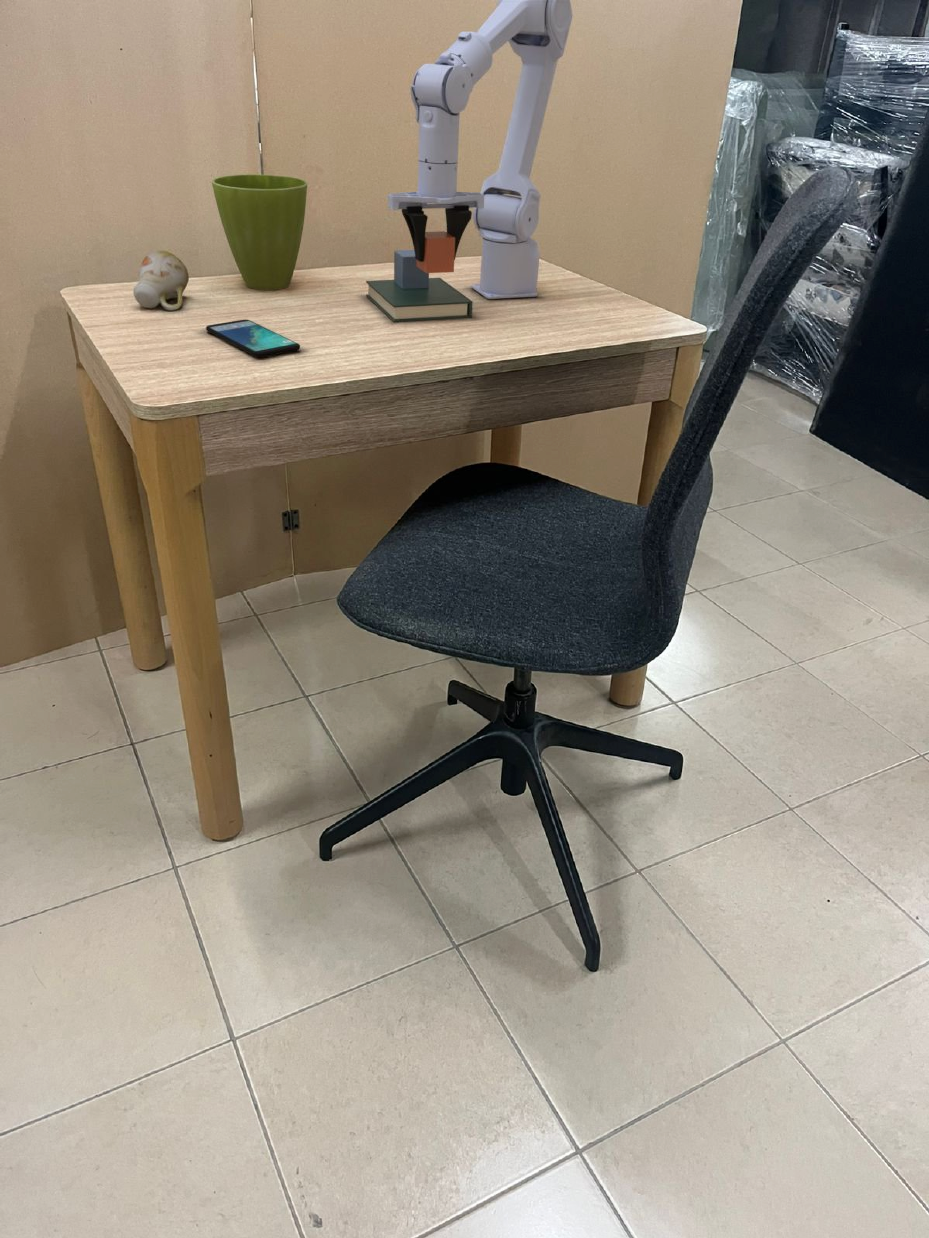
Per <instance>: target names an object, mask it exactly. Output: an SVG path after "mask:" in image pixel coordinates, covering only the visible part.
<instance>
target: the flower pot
mask: <svg viewBox="0 0 929 1238" xmlns="http://www.w3.org/2000/svg"><path fill="white" fill-rule="evenodd" d="M211 185H212V190H213V193H214V199H215V202H216V207H217V210H218V215H219V217H220V222H221V225H222V227H223V231H224V234H225V237H226V241H227V243H228V246H229V248H230V251H231V255H232V256H233V259H234V262H235V264H236V266H237V268H238V272H239V273H240V275H241V278H242V281H243V282H244V285H245V286H246V287H248V288H250V289H253V290H258V291H259V290H260V291H276V290H280V289H285V288H288V287H289V286H290V285H291V282H292V278H293V276H294V272H295V269H296V266H297V261H298V256H299V252H300V248H301V242H302V237H303V231H304V224H305V216H306V205H307V191H308V182H307V181H306V180H305V179H301V178H298V177H293V176H286V175H285V176H284V175H274V174H257V173H256V174H252V173H251V174H250V173H249V174H230V175H223V176H222V175H221V176H218V177H215V178H213V179H212V180H211Z"/></svg>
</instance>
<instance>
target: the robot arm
mask: <svg viewBox="0 0 929 1238" xmlns="http://www.w3.org/2000/svg"><path fill="white" fill-rule="evenodd" d="M496 3H497V4H496V8H495V9H494V11H492V13H491V14H490V15H489V17H488V18H487V19H486V20H485V22H484V23H482V25H481V26H480V27H479V29H478V30H477V32H476V31H460V32H459V34H458V35H457V40H456V41H455V42H454V43H452V44H451V46H449V47H448V49H447V50H445V51H443V52H442V53H441V54H440V55H439V57H438V59H436V60H435V61H434V62H433V63H424V64H423V65H422V66H420V67H419V68H418V69H417V70H416V72H415V74H414V76H413V79H412V85H410V96H411V100H412V101H411V102H412V103H413V105H414V109H415V120H416V123H417V124H418V151H417V152H418V155H417V157H418V160H417V162H418V163H417V164H418V165H417V191H408V192H395V193H388V194H387V208H388V209H390V210H391V211H399V210H401V213H402V216H403V218H404V220H405V223H406V225H407V228H408V231H409V234H410V237H411V242H412V246H413V250H414V251H415V259H417V260H418V261H419V262H424V255H425V232H427V225H428V224H427V223H428V220H429V219H428V218H429V216H428V215H427V214H425V211H424V209H425V210H427V209H429V210H430V209H433V210H434V209H444V211H445V213H444V214H445V223H446V232H447V233H448V234H450V235H452V236H453V237H455V255H454V261H456V256H457V252H458V249H459V245H460V243H461V239H462V237H463V234H464V233H465V230H466V229H467V226H468V225H469V223H470V221H471V220H473V224H474V226H475V229H477V231H478V236H479V237H482V241H481V243H482V244H481V256H480V257H481V260H480V274H479V283H475V284H473V283H472V284H471V286H470V287H471V289H473V290H474V291H476V292H477V293H478V294H480V295H481V296H483V297H484V298H486V299H487V300H495V299H513V298H532V297H534V298H535V297H538V296H539V293H538V292H537V287H538V278H539V267H540V248H539V244H538V242H537V241H536V239H535V238H533V237H532V236H533V235H534V233H535V232H536V229H537V227H538V224H539V217H540V211H539V209H540V200H541V193H540V192H539V190H538V188H537V187H536V186H535V184H534V182H533V181H532V179H530V177H531V174H532V170H533V165H534V160H535V157H536V152H537V148H538V145H539V141H540V140H539V139H540V135H541V131H542V128H543V123H544V120H545V115H546V111H547V106H548V102H549V99H550V95H551V91H552V87H553V82H554V79H555V78H554V77H555V73H556V69H557V65H558V61H559V60H560V59H561V58H562V57H563V56H564V53H565V49H566V45H567V40H568V36H569V32H570V28H571V24H572V20H573V10H572V3H571V0H497V2H496ZM507 43H508V44H509V45H510V48H511V49H512V51H513V53H514V54H515V55H517V56H518V57H519V58H520V59H521V63H522V67H521V72H520V75H519V78H518V79H519V80H518V85H517V88H516V91H515V96H514V102H513V105H512V111H511V114H510V118H509V123H508V128H507V131H506V135H505V141H504V145H503V149H502V154H501V157H500V162H499V166H498V170H496V172H494V173H493V174H492V175H490V176H488V177H487V178H485V179H484V181H482V186H481V189H480V192H469V191H468V192H467V191H457V189H458V188H457V186H458V162H459V139H460V138H459V137H460V114H461V112H464V111H465V110H466V108H467V106H468V103H469V100H470V95H471V93H472V92H473V89H474V86H475V85H476V84H477V83H478V82H479V81H480V80H481V79H482V78H483V77H484V75H486V74H487V72H489V70H490V69H491V68H492V65H493V61H494V60H493V58H494V57H493V55H494V54H495V53H496V52H497V51H499V50H500V49H501V48H502V47H503V46H504V45H506V44H507ZM470 209H472V210H470Z"/></svg>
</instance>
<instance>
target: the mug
mask: <svg viewBox="0 0 929 1238" xmlns="http://www.w3.org/2000/svg"><path fill="white" fill-rule="evenodd" d="M189 277H190V275H189V271H188V268H187V266H186V264H184V262H183V261H182V260H181V259H180V258H179V257H178V256H177V255H175V254H174V253H172V252H169V251H167V250H154V251H151V252H150V253H148V254H147V255H146V256H145V257H144V258H143V260H142V262H141V264H140V269H139V281H138V282H137V284H136V285H135V286H134V288H133V291H132V292H133V297H134V299H135V300H136V302H137V303H138V304H139V305H140V306H141V307H144V308H146V309H154V308H157V306H158V305H159V304H160V305H161V307H162V308H163V309H164V310H166V311H176V310H179V309H180V308H181V307H182V305H183V293H184V291H185V290H186V288H187V286H188V284H189V280H190V279H189ZM175 298H177V303H175V304H170V303H168V302H167V301H169V300H172V299H175Z"/></svg>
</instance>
